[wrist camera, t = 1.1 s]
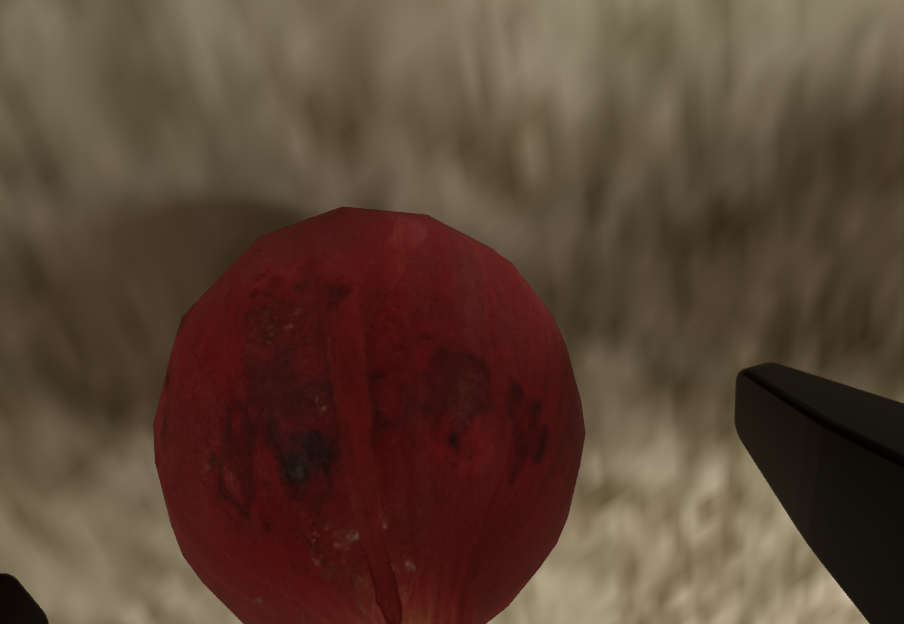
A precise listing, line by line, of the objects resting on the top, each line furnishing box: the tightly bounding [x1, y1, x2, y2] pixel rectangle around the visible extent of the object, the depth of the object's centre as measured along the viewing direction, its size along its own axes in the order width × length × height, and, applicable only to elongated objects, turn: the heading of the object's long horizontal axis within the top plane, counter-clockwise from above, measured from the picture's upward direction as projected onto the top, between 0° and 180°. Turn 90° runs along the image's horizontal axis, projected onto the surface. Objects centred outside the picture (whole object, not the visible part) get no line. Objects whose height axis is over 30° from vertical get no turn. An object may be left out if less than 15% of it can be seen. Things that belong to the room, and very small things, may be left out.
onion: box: [153, 207, 585, 624], centre depth 9 cm, size 6×6×8 cm
